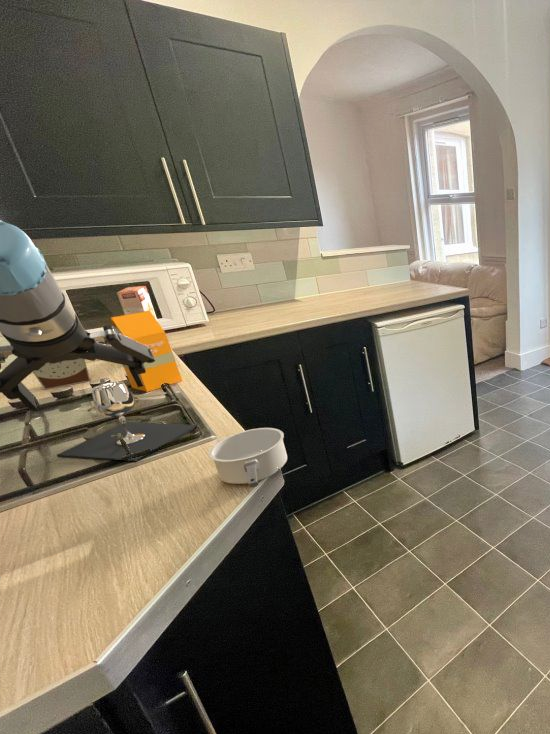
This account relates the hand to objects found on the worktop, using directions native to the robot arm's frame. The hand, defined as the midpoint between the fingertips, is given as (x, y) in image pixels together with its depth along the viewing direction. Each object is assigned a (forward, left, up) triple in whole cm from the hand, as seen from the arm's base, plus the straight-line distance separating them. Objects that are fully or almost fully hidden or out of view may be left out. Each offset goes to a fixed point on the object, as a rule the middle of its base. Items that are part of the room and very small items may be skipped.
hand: (88, 390), depth 73 cm
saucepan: (+30, -2, -15) cm, 34 cm away
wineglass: (-7, +8, -15) cm, 18 cm away
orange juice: (-32, +37, -15) cm, 51 cm away
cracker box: (-69, +70, -15) cm, 100 cm away
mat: (-7, +8, -15) cm, 19 cm away
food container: (-60, +36, -15) cm, 72 cm away
